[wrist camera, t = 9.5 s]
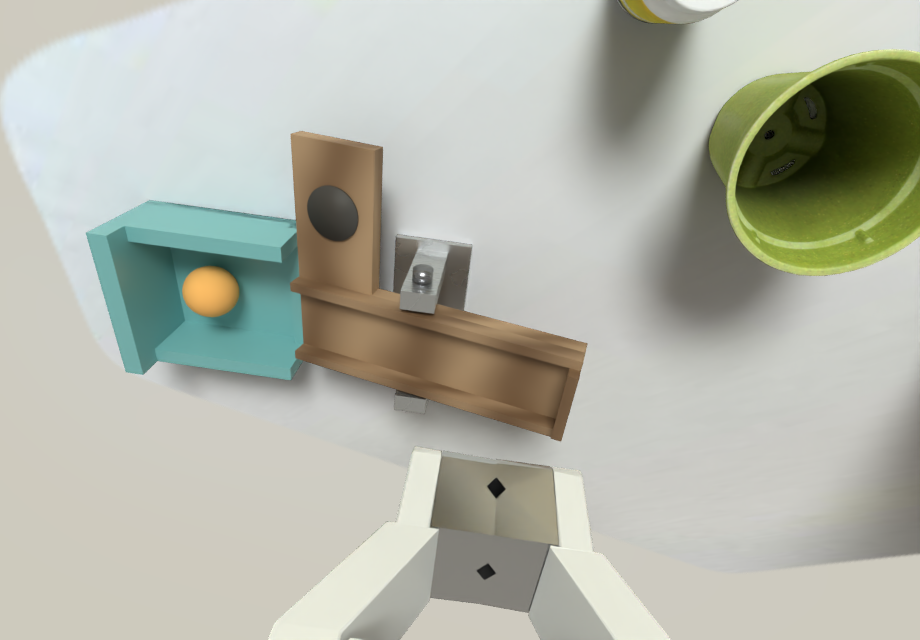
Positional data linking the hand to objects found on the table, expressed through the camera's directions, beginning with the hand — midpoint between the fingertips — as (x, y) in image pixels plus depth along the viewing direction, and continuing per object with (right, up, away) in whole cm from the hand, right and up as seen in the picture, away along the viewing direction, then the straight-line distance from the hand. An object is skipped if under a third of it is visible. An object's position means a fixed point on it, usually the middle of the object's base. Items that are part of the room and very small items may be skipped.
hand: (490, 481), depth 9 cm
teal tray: (-17, +6, +28) cm, 33 cm away
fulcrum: (-3, +4, +27) cm, 28 cm away
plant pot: (+17, +14, +20) cm, 29 cm away
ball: (-17, +5, +26) cm, 31 cm away
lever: (-2, +5, +21) cm, 22 cm away
